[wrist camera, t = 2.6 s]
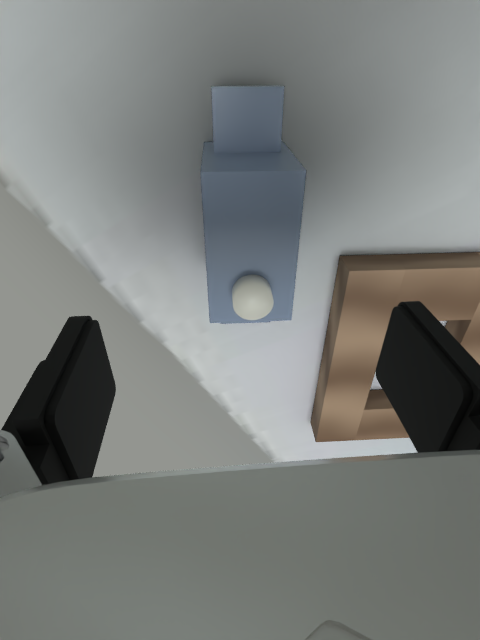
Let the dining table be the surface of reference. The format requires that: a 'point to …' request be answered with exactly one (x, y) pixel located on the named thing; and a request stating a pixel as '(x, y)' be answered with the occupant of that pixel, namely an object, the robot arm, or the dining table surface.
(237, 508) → the robot arm
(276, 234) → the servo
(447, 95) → the dining table surface
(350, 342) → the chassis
